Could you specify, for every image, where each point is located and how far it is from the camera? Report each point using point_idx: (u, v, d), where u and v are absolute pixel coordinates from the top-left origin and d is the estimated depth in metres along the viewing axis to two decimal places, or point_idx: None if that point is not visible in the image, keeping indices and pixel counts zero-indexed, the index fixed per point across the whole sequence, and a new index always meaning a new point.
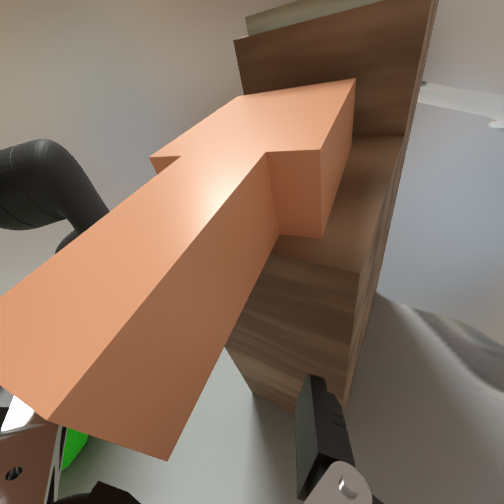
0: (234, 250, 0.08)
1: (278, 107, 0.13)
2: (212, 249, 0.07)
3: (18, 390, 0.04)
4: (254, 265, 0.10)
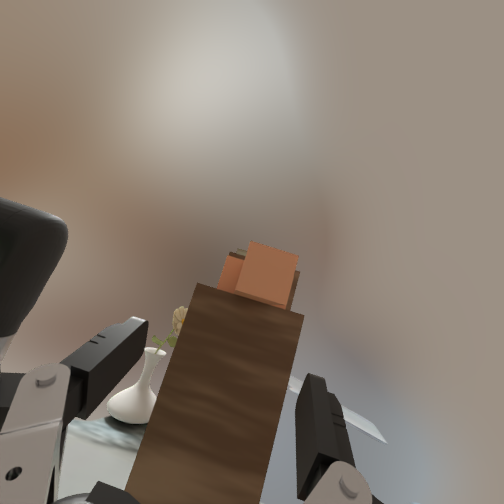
0: None
1: None
2: None
3: (286, 252, 0.19)
4: None
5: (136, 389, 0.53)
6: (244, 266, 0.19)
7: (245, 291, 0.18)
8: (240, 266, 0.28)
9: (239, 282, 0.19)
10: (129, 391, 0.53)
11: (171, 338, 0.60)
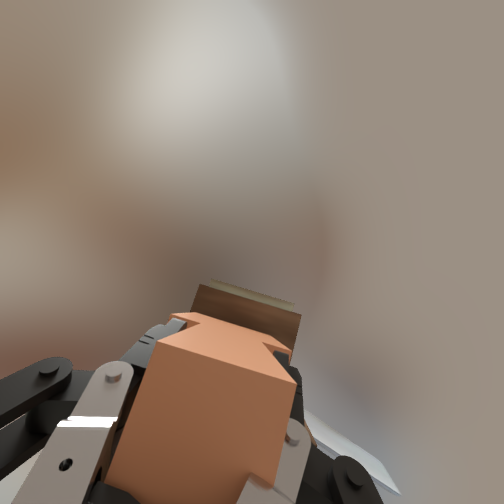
0: None
1: (238, 328, 0.21)
2: None
3: (261, 373, 0.07)
4: None
5: None
6: (130, 427, 0.06)
7: None
8: None
9: (110, 485, 0.06)
10: None
11: None
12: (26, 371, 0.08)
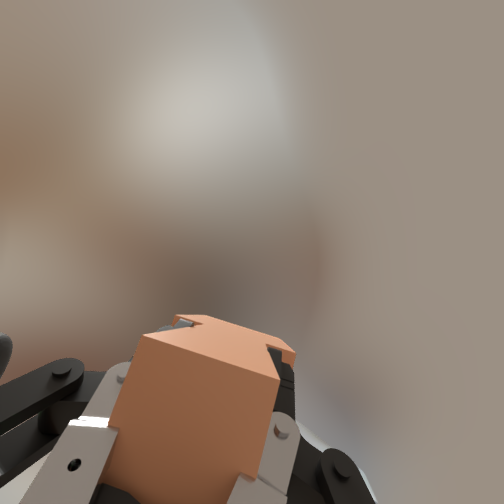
0: None
1: (246, 330, 0.21)
2: None
3: (244, 369, 0.07)
4: None
5: None
6: (115, 418, 0.06)
7: None
8: None
9: None
10: None
11: None
12: (40, 371, 0.08)
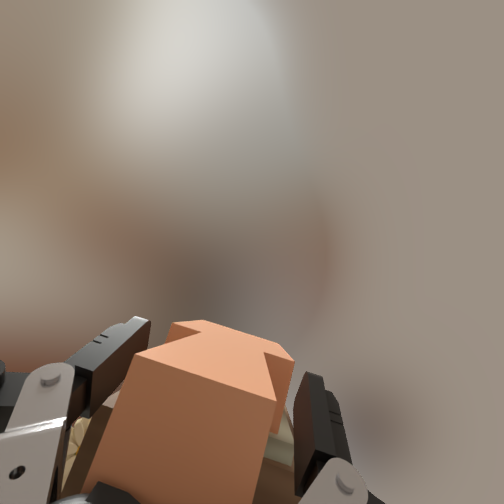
0: None
1: (244, 336, 0.21)
2: None
3: (239, 389, 0.06)
4: None
5: None
6: (106, 442, 0.06)
7: None
8: None
9: None
10: None
11: None
12: None
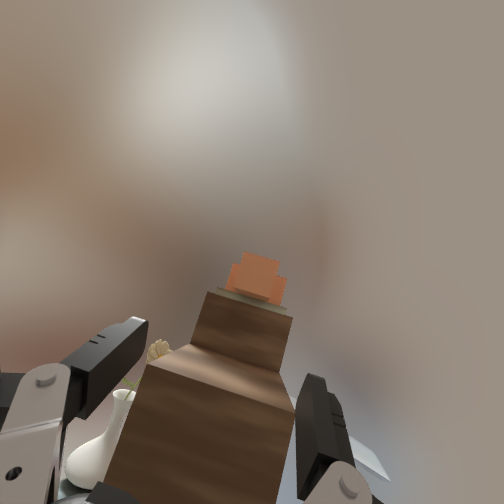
0: None
1: None
2: None
3: (270, 259, 0.26)
4: None
5: (101, 443, 0.45)
6: (239, 270, 0.26)
7: (240, 288, 0.26)
8: None
9: (236, 281, 0.26)
10: (93, 446, 0.45)
11: None
12: None
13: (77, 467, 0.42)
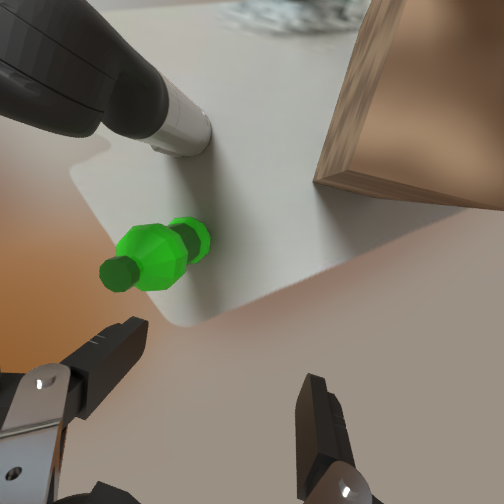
0: None
1: None
2: None
3: None
4: None
5: None
6: None
7: None
8: None
9: None
10: None
11: None
12: None
13: None
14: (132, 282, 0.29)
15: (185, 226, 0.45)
